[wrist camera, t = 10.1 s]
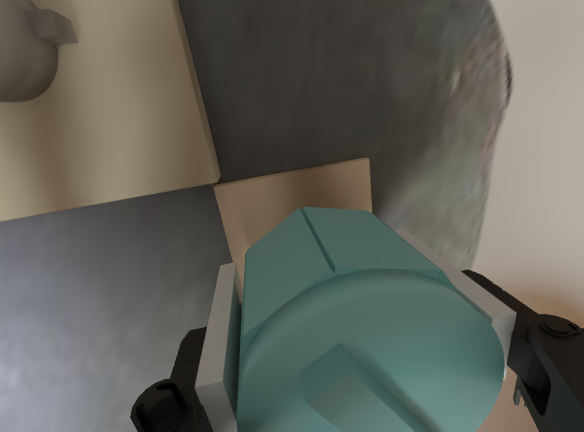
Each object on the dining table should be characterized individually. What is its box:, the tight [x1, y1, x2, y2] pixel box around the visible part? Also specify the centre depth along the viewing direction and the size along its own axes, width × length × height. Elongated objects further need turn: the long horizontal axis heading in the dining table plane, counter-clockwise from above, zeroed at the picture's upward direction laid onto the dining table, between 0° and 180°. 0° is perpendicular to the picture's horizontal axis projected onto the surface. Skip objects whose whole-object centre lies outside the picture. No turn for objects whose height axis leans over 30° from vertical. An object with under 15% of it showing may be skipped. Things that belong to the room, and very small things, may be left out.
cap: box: [236, 206, 505, 432], centre depth 10 cm, size 7×7×7 cm
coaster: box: [213, 157, 372, 289], centre depth 18 cm, size 9×9×1 cm
